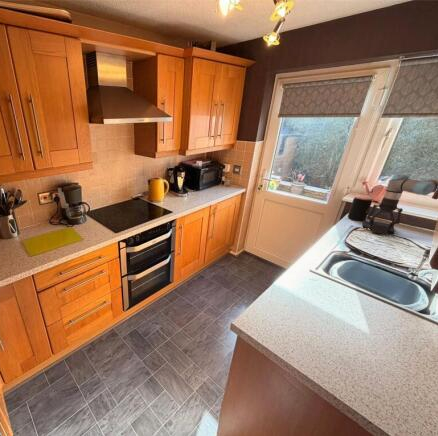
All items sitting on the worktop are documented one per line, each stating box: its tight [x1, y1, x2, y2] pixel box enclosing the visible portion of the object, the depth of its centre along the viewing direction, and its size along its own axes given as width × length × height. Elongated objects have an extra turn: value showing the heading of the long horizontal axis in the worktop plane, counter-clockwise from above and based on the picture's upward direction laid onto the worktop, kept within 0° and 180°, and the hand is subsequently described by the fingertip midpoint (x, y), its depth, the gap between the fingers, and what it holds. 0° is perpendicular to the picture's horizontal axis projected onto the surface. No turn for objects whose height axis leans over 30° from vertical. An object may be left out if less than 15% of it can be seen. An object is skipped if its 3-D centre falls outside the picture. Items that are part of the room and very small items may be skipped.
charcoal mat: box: [361, 220, 396, 236], centre depth 163 cm, size 14×16×2 cm
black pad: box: [369, 220, 390, 235], centre depth 155 cm, size 11×8×5 cm
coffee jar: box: [347, 194, 374, 222], centre depth 176 cm, size 11×11×18 cm
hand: (378, 230), depth 155 cm, fingers closed on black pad, 8 cm apart
